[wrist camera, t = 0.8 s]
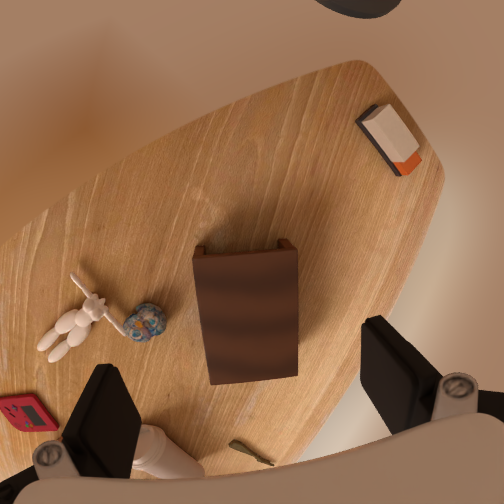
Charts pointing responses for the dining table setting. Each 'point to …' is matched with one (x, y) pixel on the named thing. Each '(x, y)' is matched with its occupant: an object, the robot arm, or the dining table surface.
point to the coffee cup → (163, 456)
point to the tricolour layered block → (390, 138)
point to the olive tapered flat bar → (247, 451)
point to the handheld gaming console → (27, 413)
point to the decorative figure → (82, 318)
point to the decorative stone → (145, 323)
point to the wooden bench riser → (248, 313)
